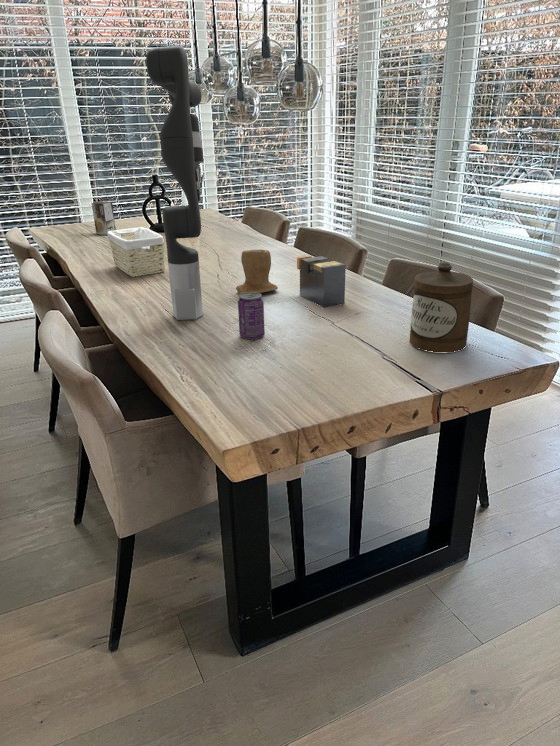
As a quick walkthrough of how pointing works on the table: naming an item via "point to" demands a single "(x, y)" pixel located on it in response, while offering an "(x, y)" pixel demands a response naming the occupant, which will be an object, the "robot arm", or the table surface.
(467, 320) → the wooden container
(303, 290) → the latch bracket
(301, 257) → the sliding latch bolt
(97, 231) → the coffee box
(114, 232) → the storage basket
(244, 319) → the beverage can
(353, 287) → the table surface
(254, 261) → the stone cup
